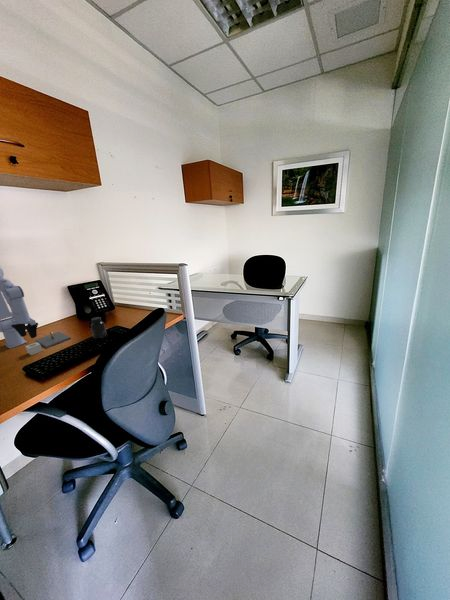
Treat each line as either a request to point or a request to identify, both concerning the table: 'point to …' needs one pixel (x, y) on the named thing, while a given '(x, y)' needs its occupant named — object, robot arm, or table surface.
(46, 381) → the table surface
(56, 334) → the junction plate
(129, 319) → the table surface
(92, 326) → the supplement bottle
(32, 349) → the collar
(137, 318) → the table surface
